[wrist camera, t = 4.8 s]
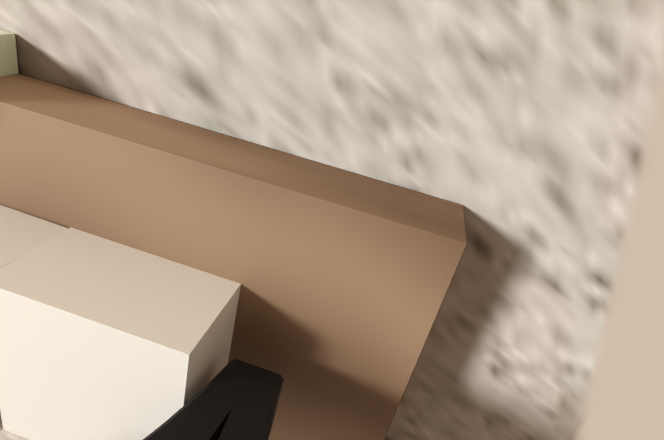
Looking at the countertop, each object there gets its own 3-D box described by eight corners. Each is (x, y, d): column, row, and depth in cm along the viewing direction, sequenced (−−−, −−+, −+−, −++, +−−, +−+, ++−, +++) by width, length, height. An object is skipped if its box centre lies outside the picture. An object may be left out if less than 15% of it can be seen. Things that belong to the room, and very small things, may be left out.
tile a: (219, 411, 13) (172, 495, 11) (76, 359, 13) (2, 429, 11) (241, 283, 11) (189, 354, 9) (70, 226, 11) (-21, 280, 9)
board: (359, 464, 15) (348, 523, 14) (43, 350, 17) (-4, 391, 15) (462, 205, 11) (466, 243, 9) (18, 73, 12) (-55, 85, 10)
